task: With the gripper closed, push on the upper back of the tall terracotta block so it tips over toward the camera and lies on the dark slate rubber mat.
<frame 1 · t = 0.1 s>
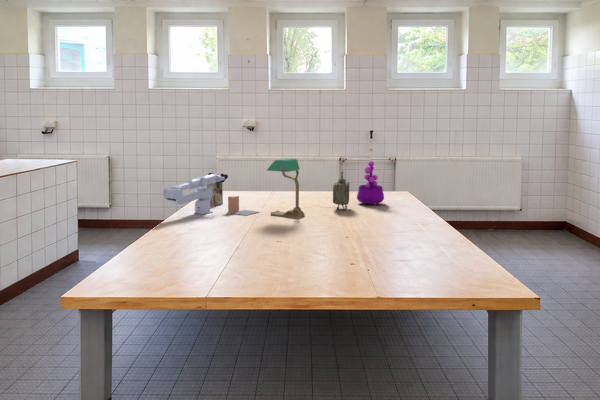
hand: (222, 175, 372), 22 cm above the table, tool horizontal, fingers open, 7 cm apart
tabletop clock: (340, 209, 374), on the table
block: (233, 211, 363), on the table
coffee box: (215, 204, 390), on the table
banker's lamp: (286, 216, 350), on the table
mat: (245, 213, 358), on the table
decorative plant: (370, 204, 396), on the table
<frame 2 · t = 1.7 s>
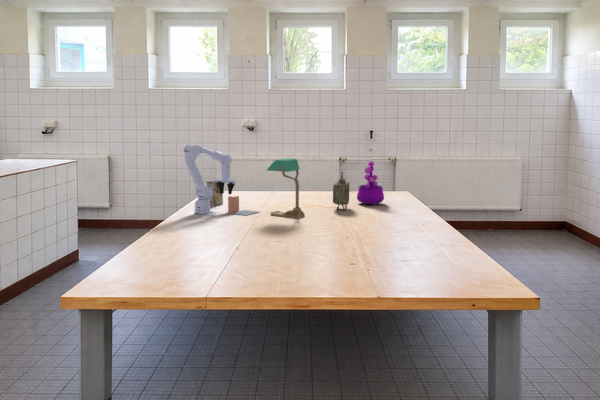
hand: (226, 193, 369), 10 cm above the table, tool pointing down, fingers open, 6 cm apart
nothing on the table moved.
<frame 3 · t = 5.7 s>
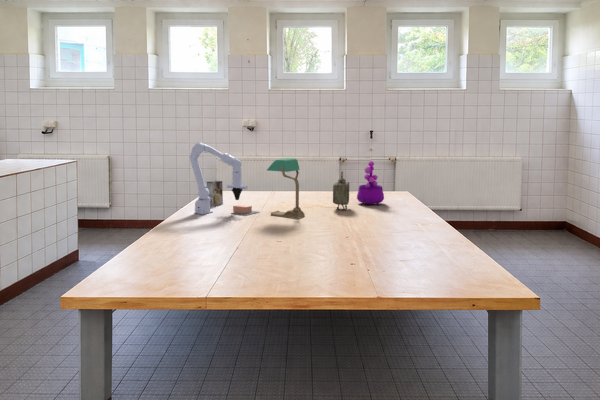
hand: (237, 199, 360), 8 cm above the table, tool pointing down, fingers closed
block: (236, 208, 361), point 2 cm above the table, tilted 90°, touching mat
everything else where it was.
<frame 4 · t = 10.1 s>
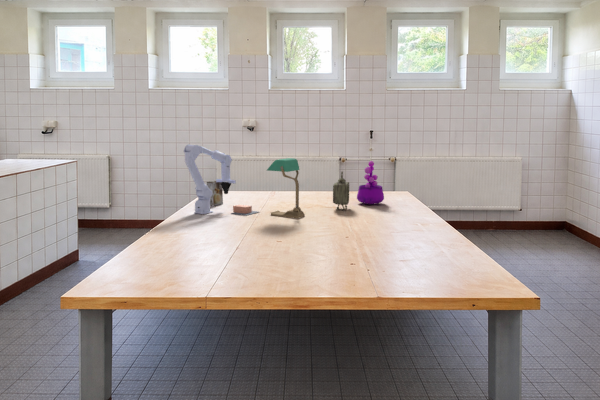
hand: (226, 193, 369), 10 cm above the table, tool pointing down, fingers closed
nothing on the table moved.
at the end: block tilted 90°; block touching mat; block inside the target area (2.1 cm from its centre), point 2.4 cm above the table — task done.
